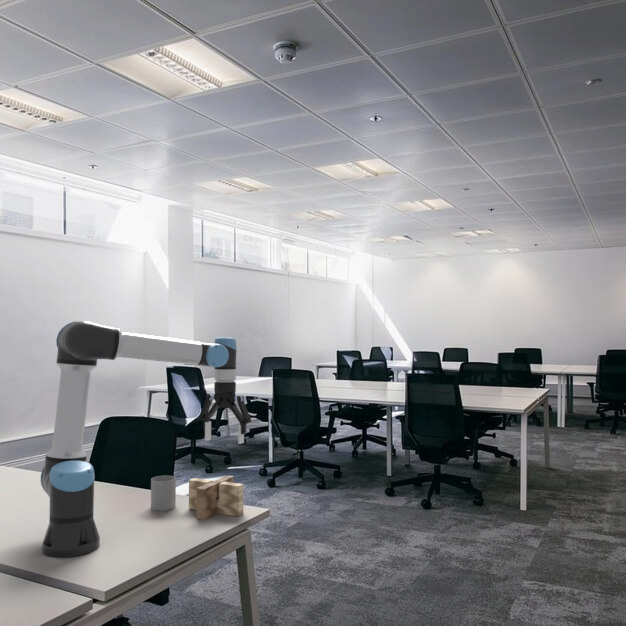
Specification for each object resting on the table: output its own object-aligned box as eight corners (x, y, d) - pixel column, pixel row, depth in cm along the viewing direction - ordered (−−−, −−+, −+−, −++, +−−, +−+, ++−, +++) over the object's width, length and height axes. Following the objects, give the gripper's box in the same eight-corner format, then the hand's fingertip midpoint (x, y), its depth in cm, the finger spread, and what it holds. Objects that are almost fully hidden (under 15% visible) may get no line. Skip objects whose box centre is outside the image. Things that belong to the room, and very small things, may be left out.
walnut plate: (225, 504, 210) (226, 475, 211) (233, 505, 209) (233, 476, 209) (196, 518, 194) (196, 488, 194) (204, 519, 193) (204, 489, 193)
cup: (178, 504, 210) (179, 475, 211) (171, 511, 202) (171, 481, 202) (155, 503, 211) (156, 475, 211) (147, 510, 203) (147, 481, 203)
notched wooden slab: (243, 513, 199) (243, 484, 199) (238, 516, 196) (238, 486, 197) (193, 506, 207) (194, 478, 207) (188, 509, 204) (188, 480, 205)
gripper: (261, 381, 207) (260, 442, 206) (201, 379, 217) (200, 437, 216) (250, 383, 200) (249, 446, 199) (189, 380, 210) (188, 440, 209)
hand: (224, 441), depth 207 cm, fingers open, 13 cm apart
